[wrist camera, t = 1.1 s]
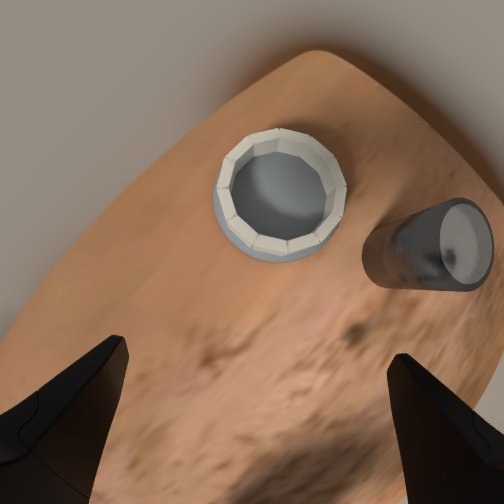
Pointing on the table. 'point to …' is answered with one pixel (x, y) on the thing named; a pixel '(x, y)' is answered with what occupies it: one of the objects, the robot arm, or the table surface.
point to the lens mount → (279, 195)
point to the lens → (432, 249)
